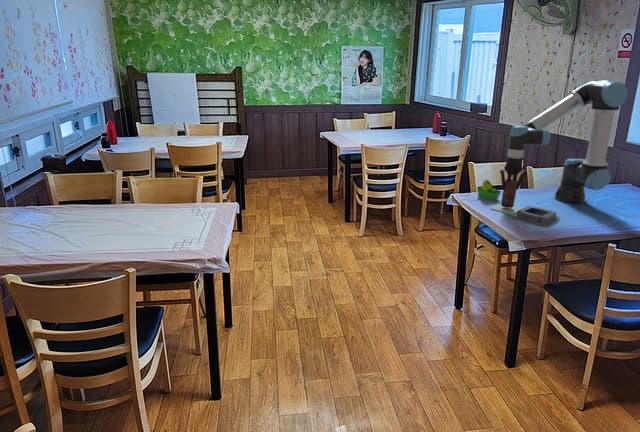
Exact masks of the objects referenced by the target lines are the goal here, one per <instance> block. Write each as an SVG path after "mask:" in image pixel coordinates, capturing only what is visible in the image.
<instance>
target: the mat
mask: <svg viewBox="0 0 640 432" xmlns="http://www.w3.org/2000/svg"><path fill="white" fill-rule="evenodd" d="M520 209H522V207H518V206H517V207H516V206H515V205H514V206H513V207H512V208H507V207H503V206H502V205H501V203H500V204H497V205H494V206H493V207H490V210H492V211H496V212H498V213H499V212H500V213H503V214H508V215H510V216H513V215H516V214H517V211H518V210H520Z"/></svg>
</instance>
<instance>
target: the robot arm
mask: <svg viewBox="0 0 640 432" xmlns="http://www.w3.org/2000/svg"><path fill="white" fill-rule="evenodd" d="M627 98H628V89H627V87H626V85H625V84H624V83H623V82H620V81H615V80H606V79H605V80H603V79H602V80H601V79H595V80H590V81H588V82H586V83H584V84H582V85H580V86H579V87H577V88H575V89H573V90H572V91H570V92H569V95H568V96H566V97H565V98H563V99H561V100H560V101H559V102H557V103H556V104H554V105H553V106H551V107H549V108H547V109H545V110H544V111H543V112H542V113H541V112H540V113H539V114H538V115H536V116H535V117H533V118H532V119H530V120H529V121H527V122H526V123H524V124H517V125H512V126H511V130H510V133H509V142H508V149H507V157H506V161H505V163H506V164H505V165H504V168H501V169H499V173H500V179H501V187H502V189H503V190H504V189H505V180H506V179H507V181H511V179H513V181H515V182H516V180H517V182H518V183H517V189H516V190H519V189H520V187H521V184H522V182H523V179H524V177H525V176H526V175H527V171H526V170H525V169H523V161H524V154H525V148H526V146H545V145H548V144H549V143H550V141H551V135H552V134H551V131H549V130H548V129H546V128H547V127H549V126H551V125H552V124H554V123H556V121H559V120H560V119H562V118H564V117H566V115H568V114H570V113H572V111H574V110H576V109H577V108H580V109H581V108H583V107H585V106H587V105H590V104H591V105H592V106H591V110H592V111H593V119H592V125H591V129H590V135H589V141H588V145H587V152H586V157H585V158H567V159H565V162H564V165H563V169H562V174H561V180H560V185H559V187H558V188H557V190H556V192H555V194H554V198H555V200H556V201H560V202H564V203H570V204H583V203H585V202H586V192H585V188H586V189H587V190H588V189H589V190H593V191H599V190H602V189H604V188H606V187H607V186H608V185H609V183H610V181H611V178H612V174H611V172H610V171H609V170H608V166H609V163H608V162H607V161H606V158H607V153H608V148H609V144H610V143H609V142H610V138H611V132H612V127H613V122H614V117H615V113H616V112H618V111H619V110H620V106H622V105H624V103H625V102H626V100H627ZM505 173H506V174H507V177H505V176H506V175H505ZM519 174H520V175H519ZM518 175H519V176H518ZM517 178H518V179H517Z"/></svg>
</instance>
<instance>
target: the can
mask: <svg viewBox="0 0 640 432" xmlns="http://www.w3.org/2000/svg"><path fill="white" fill-rule="evenodd" d="M517 181H518V179H516V182H515V181H513V178H511V181H507V178H505V189H504V188H503V191H502V196H501V202H500V204H501V205H502V206H503V207H507V208H512V207H513V206H514V207H515V200H516V199H515V198H516V194H517V190H518V189H517V183H518V182H517Z"/></svg>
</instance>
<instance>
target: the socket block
mask: <svg viewBox="0 0 640 432" xmlns="http://www.w3.org/2000/svg"><path fill="white" fill-rule="evenodd" d="M521 208H522V207H521ZM511 216H512V219H516V220H520V221H523V222H526V223H530V224H533V225H534V224H535V225H537V226H541V227H544V226H545V227H547V226H549V225H550V223H551V224H552V222H553V223H554V222H556V221H558V220H560V216H557V212H556V211H555V212H554V211H553V210H549V209H545V208H541V207H537V206H531V205H527V206H525V207H523V208H522V209H520V210H518V211H517V213H516V214H513V215H511ZM548 224H549V225H548Z"/></svg>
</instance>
